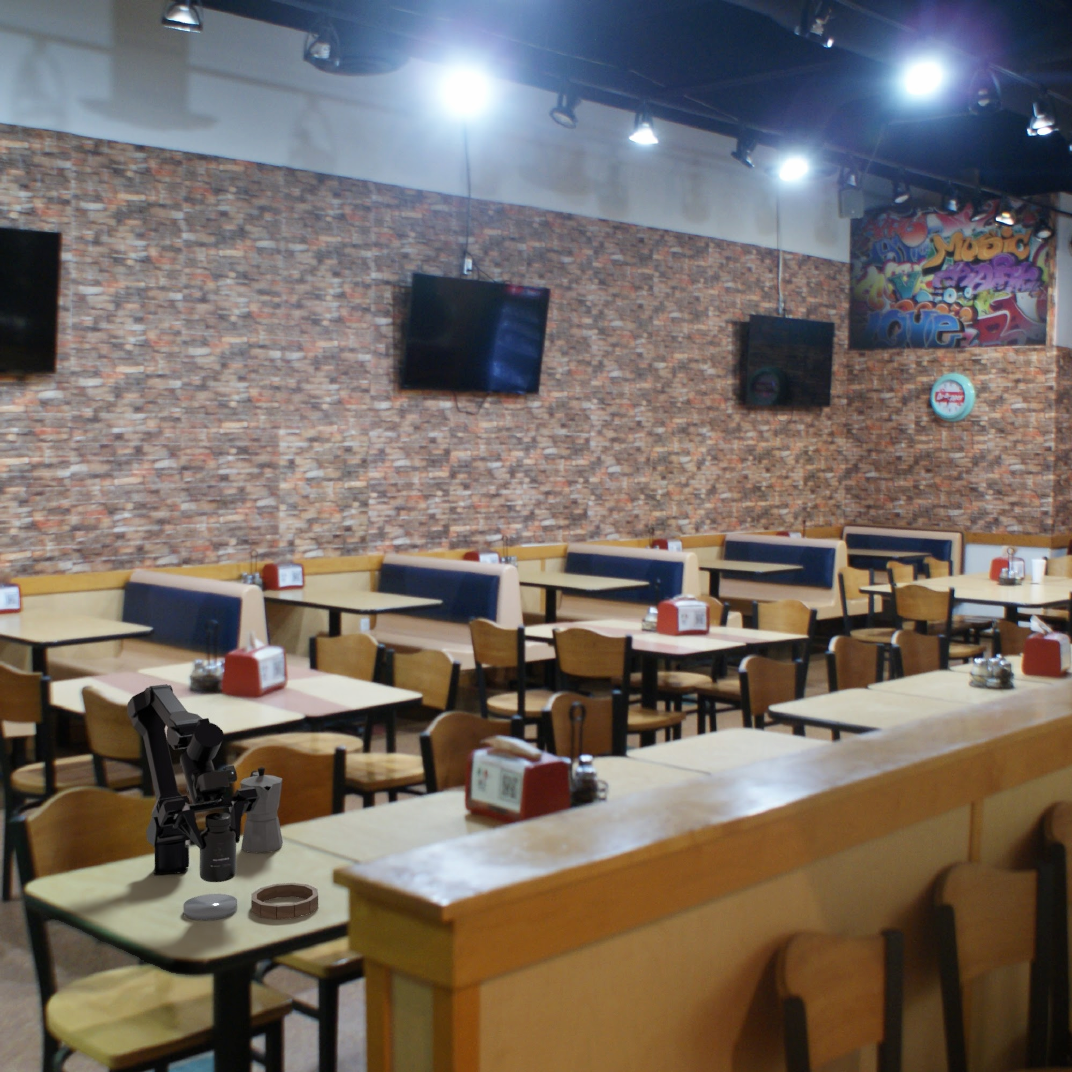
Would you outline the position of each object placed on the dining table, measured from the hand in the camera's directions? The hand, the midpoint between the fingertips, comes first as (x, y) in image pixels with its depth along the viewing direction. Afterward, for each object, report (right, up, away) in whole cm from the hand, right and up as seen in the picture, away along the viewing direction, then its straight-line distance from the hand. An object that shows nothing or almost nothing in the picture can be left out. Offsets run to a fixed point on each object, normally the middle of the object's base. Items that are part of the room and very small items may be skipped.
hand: (220, 845), depth 238 cm
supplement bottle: (-1, -7, +2) cm, 7 cm away
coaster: (-2, -13, +2) cm, 13 cm away
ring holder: (+12, -13, +4) cm, 18 cm away
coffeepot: (-1, -10, +42) cm, 43 cm away
